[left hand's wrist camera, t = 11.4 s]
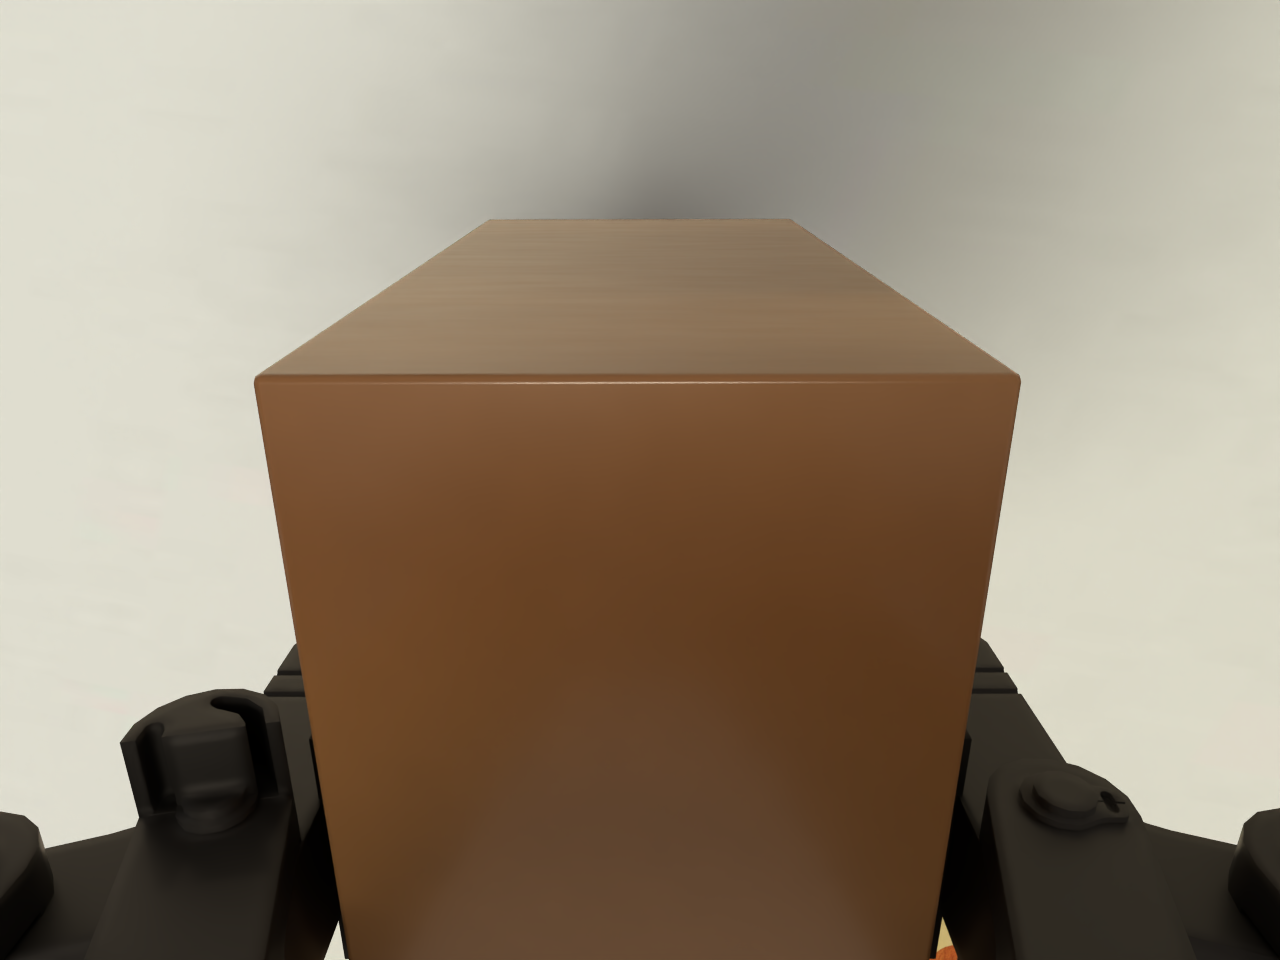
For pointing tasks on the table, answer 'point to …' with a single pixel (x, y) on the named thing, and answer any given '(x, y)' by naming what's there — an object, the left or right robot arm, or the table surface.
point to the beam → (638, 593)
